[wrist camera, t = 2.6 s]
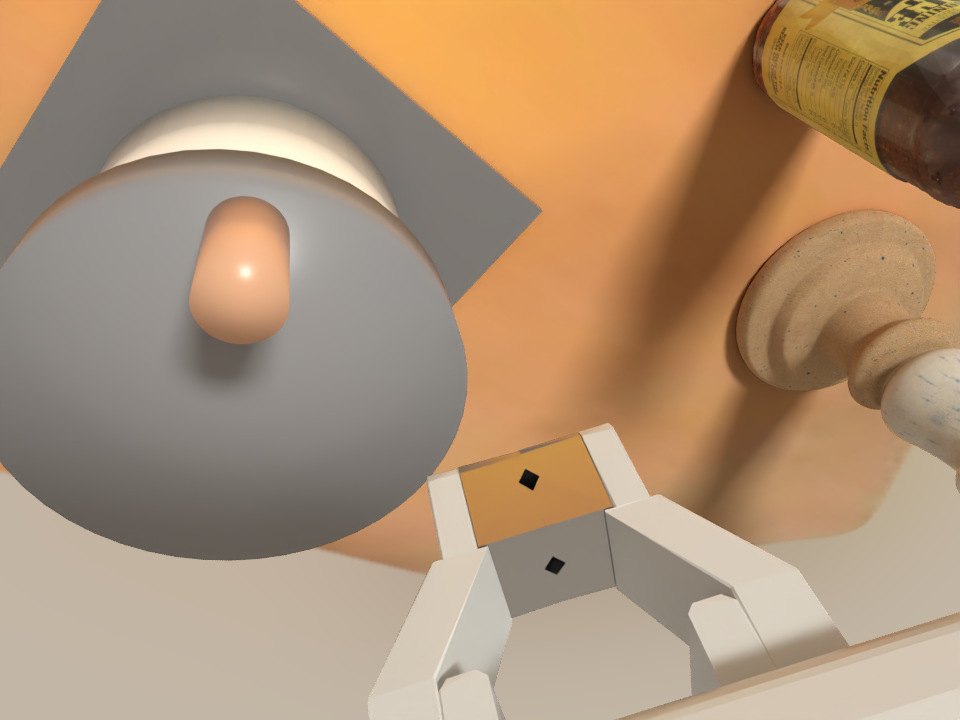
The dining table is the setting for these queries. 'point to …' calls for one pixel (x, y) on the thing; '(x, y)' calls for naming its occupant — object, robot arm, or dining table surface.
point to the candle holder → (858, 325)
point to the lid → (224, 357)
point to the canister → (256, 122)
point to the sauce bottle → (872, 81)
